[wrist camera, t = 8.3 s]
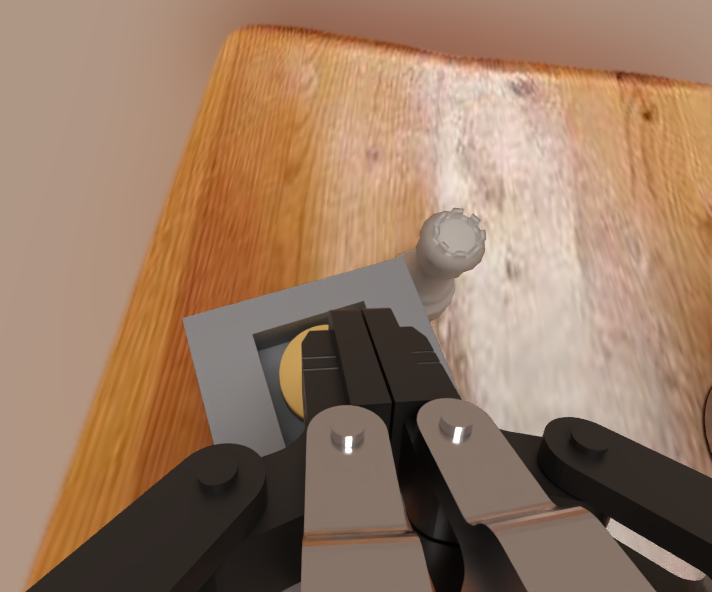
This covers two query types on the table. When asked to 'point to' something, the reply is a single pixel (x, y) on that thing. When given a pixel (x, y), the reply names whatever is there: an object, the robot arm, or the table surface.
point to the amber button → (294, 374)
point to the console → (269, 341)
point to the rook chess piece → (443, 257)
